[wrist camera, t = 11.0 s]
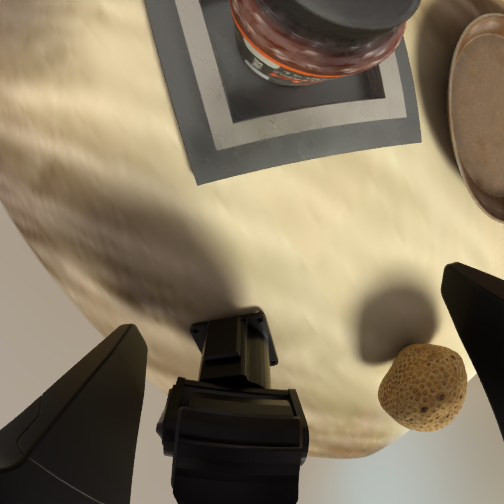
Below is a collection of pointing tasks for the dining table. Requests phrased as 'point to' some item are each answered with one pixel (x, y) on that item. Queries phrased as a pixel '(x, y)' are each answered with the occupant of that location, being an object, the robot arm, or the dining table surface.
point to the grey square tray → (270, 99)
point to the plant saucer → (479, 111)
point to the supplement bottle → (317, 36)
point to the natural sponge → (424, 387)
